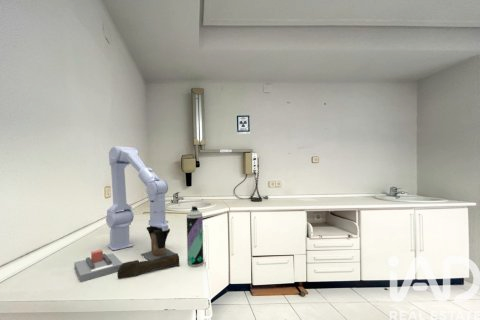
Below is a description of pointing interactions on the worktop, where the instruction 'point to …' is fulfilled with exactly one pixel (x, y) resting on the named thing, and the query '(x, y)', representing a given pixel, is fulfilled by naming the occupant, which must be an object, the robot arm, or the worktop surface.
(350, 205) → the worktop surface
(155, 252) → the tan wooden post
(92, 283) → the worktop surface
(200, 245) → the spray can
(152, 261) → the hand tool
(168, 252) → the mat
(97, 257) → the lever
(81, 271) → the panel
